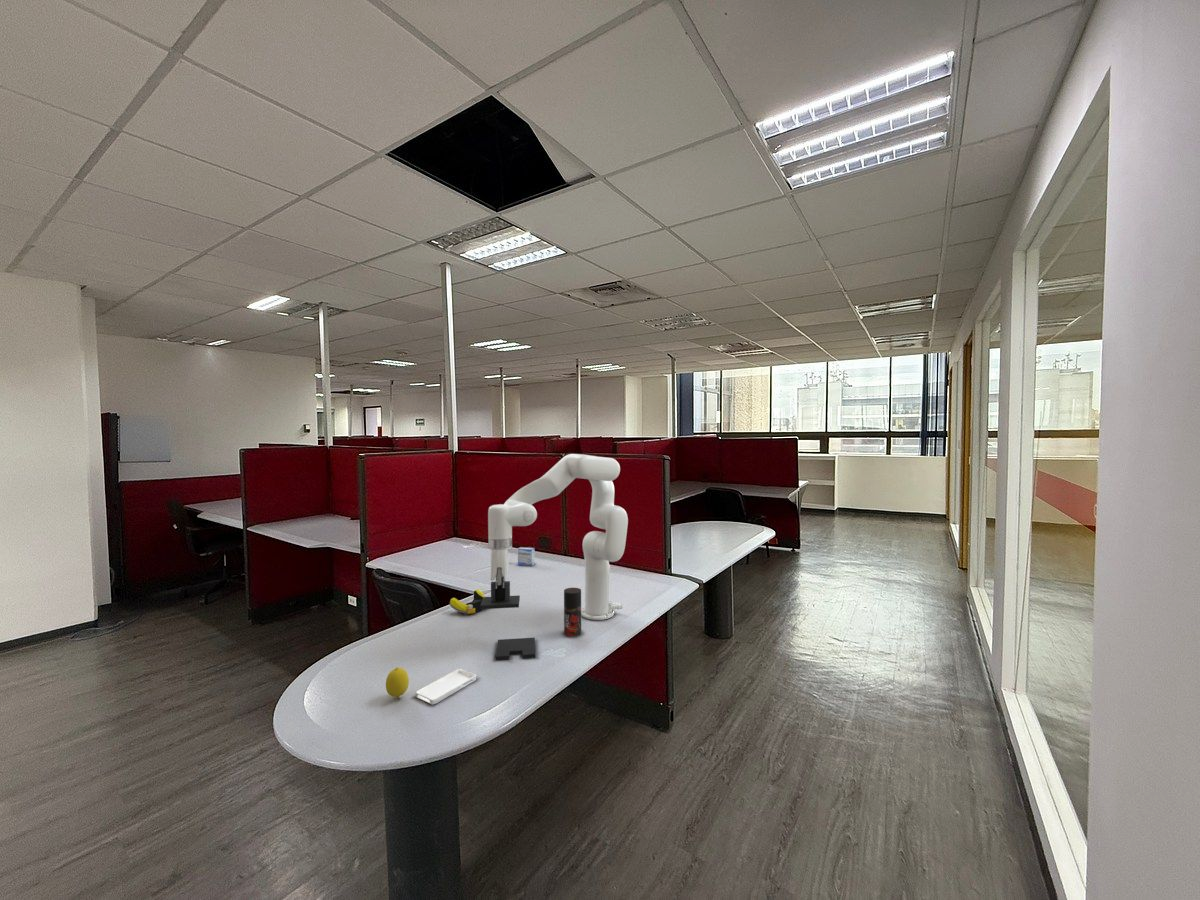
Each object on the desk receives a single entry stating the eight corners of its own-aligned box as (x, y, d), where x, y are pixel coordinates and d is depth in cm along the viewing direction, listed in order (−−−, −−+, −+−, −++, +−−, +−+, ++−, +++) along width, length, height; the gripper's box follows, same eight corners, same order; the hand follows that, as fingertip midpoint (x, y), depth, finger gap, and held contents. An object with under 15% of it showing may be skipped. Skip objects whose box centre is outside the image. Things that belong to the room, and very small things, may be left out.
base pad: (534, 640, 159) (534, 637, 159) (535, 657, 147) (535, 653, 147) (498, 643, 157) (498, 639, 157) (495, 660, 145) (495, 656, 145)
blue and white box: (517, 565, 249) (517, 548, 248) (520, 563, 253) (520, 546, 253) (532, 566, 247) (532, 549, 247) (534, 563, 252) (534, 547, 251)
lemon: (390, 692, 127) (389, 663, 127) (411, 691, 128) (411, 662, 127) (382, 704, 122) (382, 673, 121) (405, 703, 122) (404, 672, 122)
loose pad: (519, 596, 163) (519, 575, 163) (518, 607, 152) (518, 585, 152) (484, 597, 161) (483, 576, 161) (480, 609, 151) (480, 586, 150)
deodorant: (583, 631, 166) (583, 588, 166) (577, 638, 161) (577, 594, 160) (568, 628, 168) (568, 586, 168) (561, 635, 163) (561, 592, 162)
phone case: (459, 672, 138) (414, 697, 125) (459, 667, 138) (414, 691, 125) (477, 679, 134) (433, 705, 121) (477, 674, 134) (433, 700, 121)
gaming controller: (447, 612, 183) (464, 618, 178) (447, 598, 183) (464, 603, 177) (477, 601, 196) (494, 606, 190) (477, 588, 196) (494, 592, 190)
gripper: (490, 538, 162) (491, 591, 163) (485, 549, 146) (486, 608, 147) (513, 537, 163) (513, 590, 164) (510, 548, 147) (511, 607, 148)
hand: (500, 598), depth 155 cm, fingers closed on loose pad
